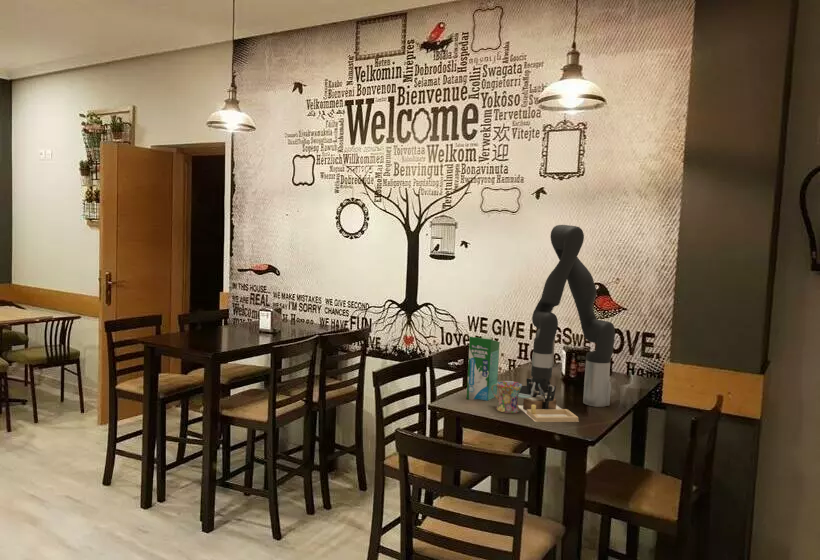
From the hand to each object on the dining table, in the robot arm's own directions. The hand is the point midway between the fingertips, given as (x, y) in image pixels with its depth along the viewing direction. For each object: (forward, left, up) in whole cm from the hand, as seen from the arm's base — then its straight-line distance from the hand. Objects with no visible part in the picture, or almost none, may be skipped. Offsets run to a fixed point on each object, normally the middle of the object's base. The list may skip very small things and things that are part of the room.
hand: (539, 409), depth 237 cm
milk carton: (+17, -18, -1) cm, 25 cm away
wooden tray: (-1, +5, -1) cm, 5 cm away
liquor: (-32, -78, -1) cm, 84 cm away
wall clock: (-7, -24, -2) cm, 25 cm away
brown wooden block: (0, 0, 0) cm, 0 cm away
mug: (+13, -1, -1) cm, 13 cm away
